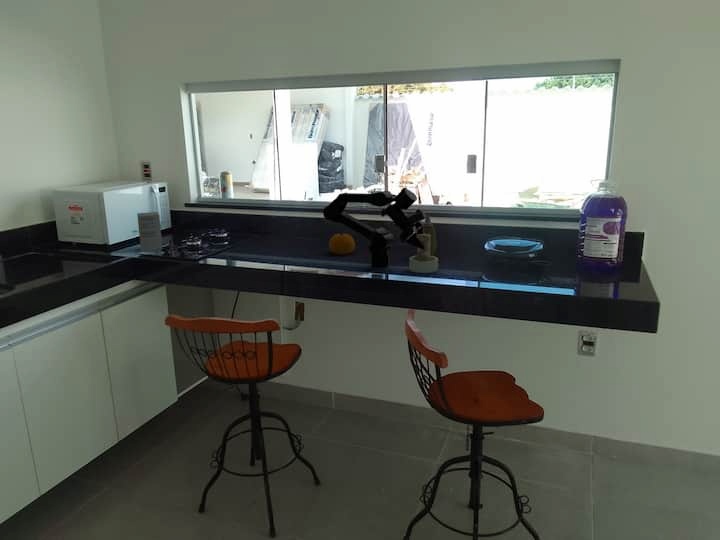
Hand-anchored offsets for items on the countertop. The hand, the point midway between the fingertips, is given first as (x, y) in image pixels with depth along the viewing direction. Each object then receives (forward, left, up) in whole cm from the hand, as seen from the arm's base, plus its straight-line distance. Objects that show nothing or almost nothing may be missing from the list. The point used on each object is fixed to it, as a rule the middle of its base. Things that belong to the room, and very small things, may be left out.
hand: (426, 246), depth 216 cm
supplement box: (-130, +22, -10) cm, 132 cm away
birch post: (-1, 0, -9) cm, 9 cm away
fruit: (-39, +25, -10) cm, 47 cm away
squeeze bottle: (-1, +26, -10) cm, 28 cm away
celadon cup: (-1, 0, -9) cm, 9 cm away
